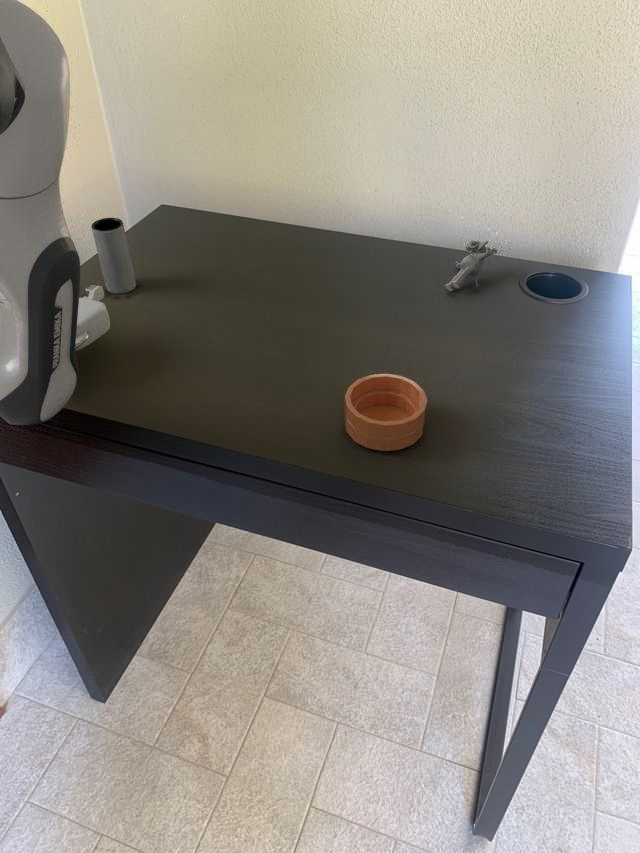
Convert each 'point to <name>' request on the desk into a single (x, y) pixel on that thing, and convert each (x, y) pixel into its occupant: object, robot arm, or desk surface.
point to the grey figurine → (470, 263)
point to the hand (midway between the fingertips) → (70, 283)
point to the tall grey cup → (114, 255)
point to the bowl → (385, 412)
